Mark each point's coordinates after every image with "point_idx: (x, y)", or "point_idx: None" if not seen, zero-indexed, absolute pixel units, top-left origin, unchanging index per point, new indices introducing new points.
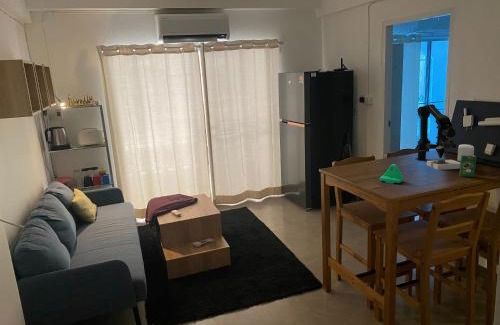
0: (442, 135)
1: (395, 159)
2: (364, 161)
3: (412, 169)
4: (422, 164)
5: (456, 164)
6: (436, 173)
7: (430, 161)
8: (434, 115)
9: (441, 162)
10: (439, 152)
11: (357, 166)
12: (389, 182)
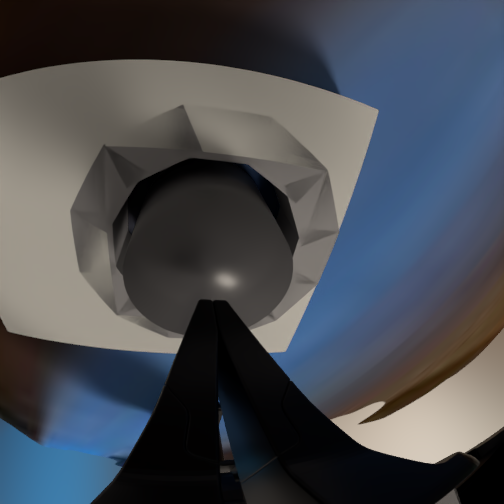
0: None
1: None
2: (428, 378)
3: (468, 217)
4: None
5: (32, 71)
6: (444, 13)
7: (272, 329)
8: None
9: (238, 193)
10: (320, 413)
11: (496, 318)
12: None
